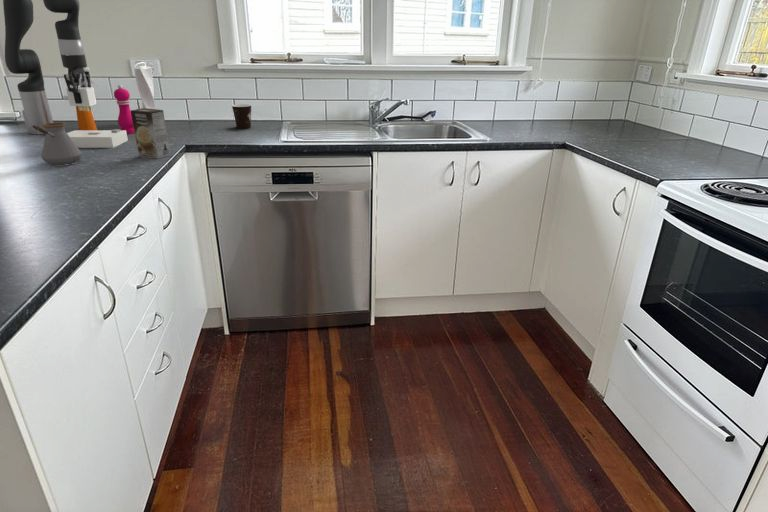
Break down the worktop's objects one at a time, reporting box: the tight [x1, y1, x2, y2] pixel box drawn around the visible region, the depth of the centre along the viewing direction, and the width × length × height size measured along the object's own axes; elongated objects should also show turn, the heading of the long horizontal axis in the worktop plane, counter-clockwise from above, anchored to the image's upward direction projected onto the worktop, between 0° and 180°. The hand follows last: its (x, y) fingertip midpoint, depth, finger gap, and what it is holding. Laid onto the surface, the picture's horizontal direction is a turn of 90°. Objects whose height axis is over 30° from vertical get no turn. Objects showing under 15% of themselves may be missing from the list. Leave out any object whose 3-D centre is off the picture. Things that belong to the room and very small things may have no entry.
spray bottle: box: [75, 67, 98, 130], centre depth 211 cm, size 7×11×26 cm, turn 124°
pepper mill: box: [113, 84, 135, 135], centre depth 212 cm, size 7×7×20 cm
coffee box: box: [130, 107, 171, 160], centre depth 174 cm, size 9×6×16 cm
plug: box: [62, 86, 97, 111], centre depth 183 cm, size 10×6×8 cm, turn 94°
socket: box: [66, 128, 129, 149], centre depth 193 cm, size 20×14×5 cm
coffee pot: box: [30, 122, 82, 166], centre depth 158 cm, size 21×12×15 cm, turn 13°
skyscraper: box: [133, 61, 158, 110], centre depth 228 cm, size 8×8×28 cm
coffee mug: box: [231, 103, 252, 130], centre depth 228 cm, size 12×9×10 cm
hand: (82, 102), depth 184 cm, fingers closed on plug, 5 cm apart
